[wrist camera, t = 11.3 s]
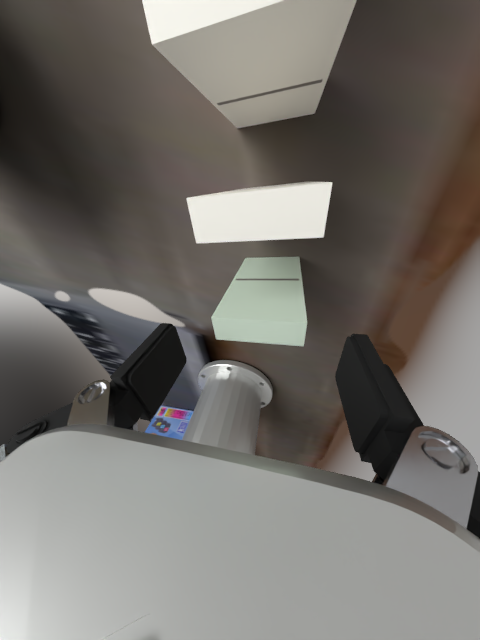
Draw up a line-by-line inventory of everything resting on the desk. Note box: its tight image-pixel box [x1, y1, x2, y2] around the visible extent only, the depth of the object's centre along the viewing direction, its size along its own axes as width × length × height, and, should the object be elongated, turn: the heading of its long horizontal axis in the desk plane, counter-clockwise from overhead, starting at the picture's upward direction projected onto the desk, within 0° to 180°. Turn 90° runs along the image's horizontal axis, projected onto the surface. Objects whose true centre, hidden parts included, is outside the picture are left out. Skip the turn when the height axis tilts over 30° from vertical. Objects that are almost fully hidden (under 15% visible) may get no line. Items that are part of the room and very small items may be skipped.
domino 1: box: [142, 0, 357, 128], centre depth 8 cm, size 2×5×10 cm, turn 96°
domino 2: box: [186, 182, 333, 243], centre depth 11 cm, size 2×5×10 cm, turn 96°
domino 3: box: [211, 257, 307, 346], centre depth 14 cm, size 2×5×10 cm, turn 96°
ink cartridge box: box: [145, 406, 194, 440], centre depth 38 cm, size 10×6×14 cm, turn 99°
